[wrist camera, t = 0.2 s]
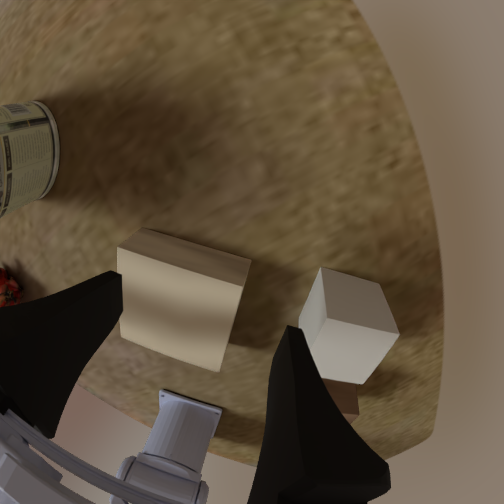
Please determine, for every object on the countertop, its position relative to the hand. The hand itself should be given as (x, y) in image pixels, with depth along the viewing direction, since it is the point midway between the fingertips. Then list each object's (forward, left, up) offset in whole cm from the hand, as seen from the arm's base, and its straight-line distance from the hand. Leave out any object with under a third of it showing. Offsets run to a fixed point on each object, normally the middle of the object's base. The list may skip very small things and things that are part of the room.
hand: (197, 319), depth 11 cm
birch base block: (-6, +3, -10) cm, 12 cm away
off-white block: (-3, -9, -10) cm, 14 cm away
